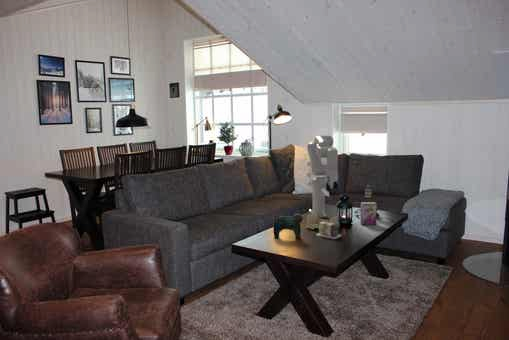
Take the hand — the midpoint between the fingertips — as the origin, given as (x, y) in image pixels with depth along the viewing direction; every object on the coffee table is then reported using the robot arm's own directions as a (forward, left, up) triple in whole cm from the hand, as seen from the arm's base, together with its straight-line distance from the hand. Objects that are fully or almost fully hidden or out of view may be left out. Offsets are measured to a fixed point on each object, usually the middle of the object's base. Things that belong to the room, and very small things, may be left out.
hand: (331, 189), depth 304 cm
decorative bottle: (+7, +46, -29) cm, 54 cm away
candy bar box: (+17, +25, -29) cm, 42 cm away
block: (+7, -16, -28) cm, 33 cm away
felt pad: (+7, -16, -29) cm, 33 cm away
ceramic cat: (-12, -37, -29) cm, 49 cm away
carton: (-6, -2, -29) cm, 29 cm away
